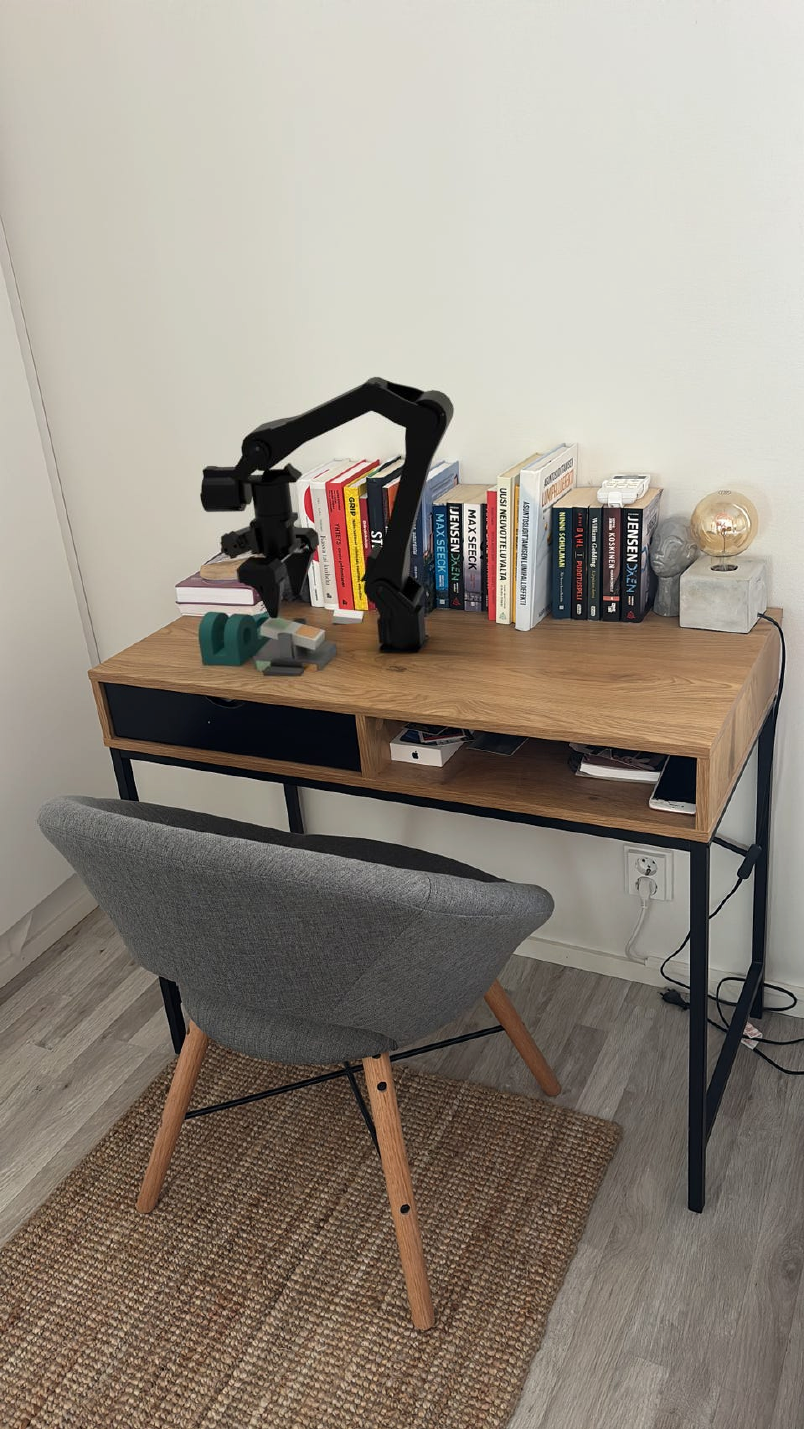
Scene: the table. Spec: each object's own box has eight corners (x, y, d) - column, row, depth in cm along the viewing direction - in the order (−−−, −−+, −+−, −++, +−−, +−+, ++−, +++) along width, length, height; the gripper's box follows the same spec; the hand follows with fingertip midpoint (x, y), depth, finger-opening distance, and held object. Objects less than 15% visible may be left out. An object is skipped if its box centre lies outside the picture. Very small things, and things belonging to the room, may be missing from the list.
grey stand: (337, 659, 181) (333, 619, 178) (321, 679, 175) (316, 638, 172) (273, 655, 184) (268, 616, 181) (255, 674, 178) (249, 634, 175)
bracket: (241, 670, 181) (234, 624, 177) (203, 667, 183) (195, 621, 179) (290, 626, 196) (284, 583, 192) (254, 624, 198) (248, 580, 194)
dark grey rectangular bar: (305, 679, 176) (303, 668, 175) (300, 684, 174) (299, 673, 173) (268, 676, 177) (267, 666, 177) (264, 681, 176) (262, 671, 175)
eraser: (361, 618, 193) (363, 611, 196) (332, 615, 193) (335, 608, 196) (361, 625, 193) (363, 618, 196) (332, 622, 193) (334, 615, 196)
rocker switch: (325, 638, 179) (326, 628, 178) (313, 651, 175) (314, 640, 174) (271, 623, 181) (272, 613, 180) (259, 635, 177) (260, 625, 176)
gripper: (250, 491, 184) (262, 583, 191) (197, 528, 169) (213, 627, 176) (314, 493, 181) (325, 586, 188) (267, 530, 165) (280, 630, 172)
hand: (285, 606), depth 181 cm, fingers open, 9 cm apart
